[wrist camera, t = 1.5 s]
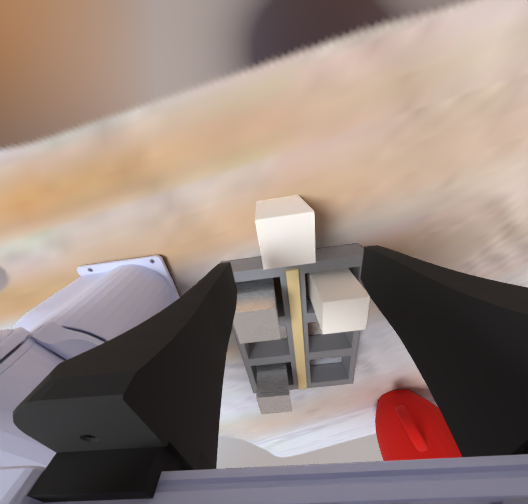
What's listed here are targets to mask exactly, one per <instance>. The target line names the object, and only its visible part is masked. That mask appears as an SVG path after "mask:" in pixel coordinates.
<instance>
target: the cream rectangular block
mask: <svg viewBox="0 0 528 504" xmlns="http://www.w3.org/2000/svg"><path fill="white" fill-rule="evenodd" d="M255 224H256V229H257V235H258V241H259V247H260V252H261V258H262V264H263V270H265V269H273V268H281V267H288V266H296V265H303V264H311V263H316V259H315V215H314V210H313V209H312V208H311V207H310V206H309V205H308V204H307V203H306V202H305V201H304V200H303V199H302V198H301V197H300V196H299V195H293V196H286V197H280V198H273V199H267V200H260V201H256V213H255Z"/></svg>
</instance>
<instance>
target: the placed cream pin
mask: <svg viewBox="0 0 528 504" xmlns="http://www.w3.org/2000/svg"><path fill="white" fill-rule="evenodd" d="M307 276H308V294H309V297H310V299H311V302H312V305H313V308H314V311H315V314H316V317H317V320H318V322H319V325H320V328H321V331H322V334H331V333H340V332H348V331H357V330H366V323H367V316H368V309H369V303H370V296H369V294H368V293H367V292H366V290H365V289H364V288H363V287H362V285H361V284H360V283H359V281H358V280H357V279H356V278H355V276H354V275H353V274H352V272H351V271H350V270H349V269H348V268H343V269H335V270H327V271H320V272H312V273H307Z"/></svg>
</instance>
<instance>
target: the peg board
mask: <svg viewBox="0 0 528 504" xmlns="http://www.w3.org/2000/svg"><path fill="white" fill-rule="evenodd" d="M363 253H364V249H363V248H362V247H361V246H360V245H359V244H358V243H355V244H348V245H341V246H333V247H326V248H319V249H315V259H316V263H311V264H303V265H296V266H288V267H281V268H273V269H265V270H263V264H262V258H261V256H260V257H253V258H246V259H238V260H231V261H224V262H221V263H226V262H230V263H231V267H232V271H233V275H234V279H235V282H243V281H251V280H258V279H266V278H274V277H280V284H281V292H282V300H283V301H279V302H277V310H278V319H279V326H285V325H286V330H287V338H286V339H278V340H269V341H260V342H251V343H243V344H240V343H239V340H238V336H237V333H236V330H235V327H234V323H233V324H232V326H233V329H234V333H235V336H236V339H237V342H238V345H239V349H240V352H241V355H242V358H243V361H244V364H245V368H246V371H247V374H248V377H249V380H250V384H251V387H252V390H253V393H257V368H256V366H257V365H266V364H276V363H285V362H291V368H287V375H288V383H289V390H292V389H306V388H312V387H322V386H332V385H342V384H352V383H353V381H354V373H355V365H356V357H357V349H358V341H359V334H360V330H357V331H348V332H340V333H331V334H321V335H312V336H308V324H307V323H311V322H318V320H317V317H316V314H315V311H314V308H313V305H312V302H311V299H310V298H306V287H305V273H312V272H320V271H327V270H335V269H343V268H349V270H350V271H351V272H352V274H353V275H354V276H355V278H356V279H357V280H358V281H359V283H360V284H361V285H362V287H363V288H364V289H365V287H364V285H363V283H362V281H361V279H360V276H361V268H362V261H363ZM341 356H342V362H341V363H331V364H322V365H312V366H310V360H313V359H322V358H332V357H341Z"/></svg>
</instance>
